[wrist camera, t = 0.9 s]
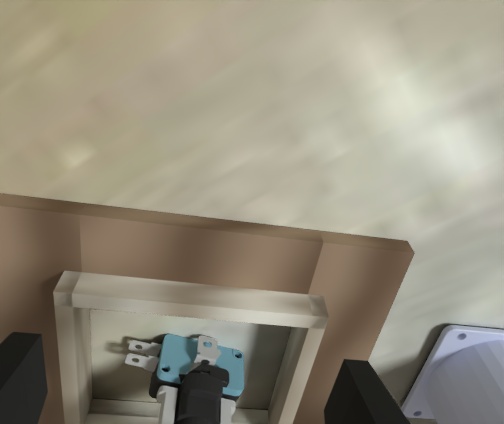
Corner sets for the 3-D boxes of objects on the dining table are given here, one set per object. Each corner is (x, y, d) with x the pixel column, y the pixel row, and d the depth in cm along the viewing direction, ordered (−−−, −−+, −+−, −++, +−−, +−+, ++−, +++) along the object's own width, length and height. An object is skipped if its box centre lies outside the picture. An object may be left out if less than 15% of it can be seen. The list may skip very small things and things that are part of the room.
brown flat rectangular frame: (407, 240, 22) (431, 280, 19) (320, 449, 31) (328, 495, 28) (-19, 191, 19) (-58, 228, 17) (22, 433, 28) (1, 481, 26)
